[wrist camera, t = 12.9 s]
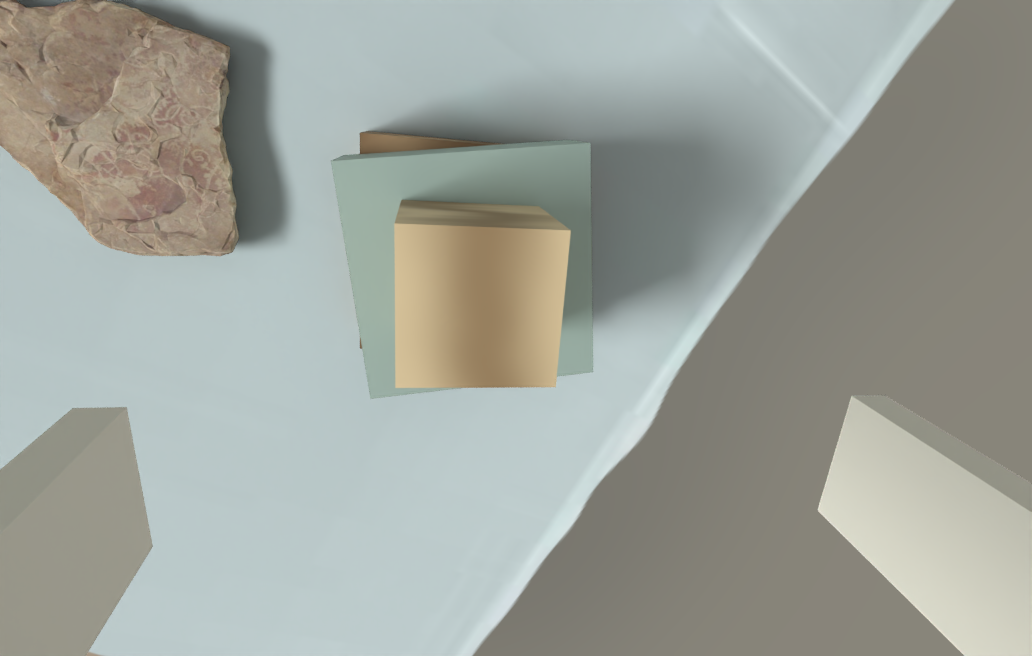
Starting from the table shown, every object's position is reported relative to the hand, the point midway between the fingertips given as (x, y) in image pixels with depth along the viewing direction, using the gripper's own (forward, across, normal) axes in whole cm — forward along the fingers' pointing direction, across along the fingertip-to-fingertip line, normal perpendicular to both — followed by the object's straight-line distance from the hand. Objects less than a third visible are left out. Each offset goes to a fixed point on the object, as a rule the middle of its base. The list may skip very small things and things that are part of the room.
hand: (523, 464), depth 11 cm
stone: (+25, -16, +5) cm, 30 cm away
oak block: (+16, 0, 0) cm, 16 cm away
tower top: (+20, +1, -1) cm, 20 cm away
